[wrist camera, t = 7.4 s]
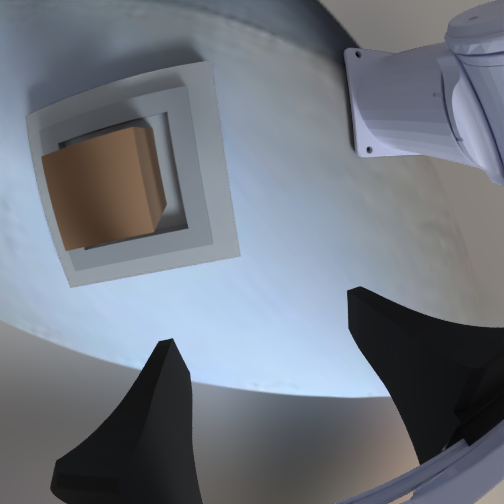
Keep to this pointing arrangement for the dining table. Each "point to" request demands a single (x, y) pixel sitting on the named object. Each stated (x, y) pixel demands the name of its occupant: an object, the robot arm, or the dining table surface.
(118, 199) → the walnut block
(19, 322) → the dining table surface
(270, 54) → the dining table surface
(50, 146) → the grey square tray
